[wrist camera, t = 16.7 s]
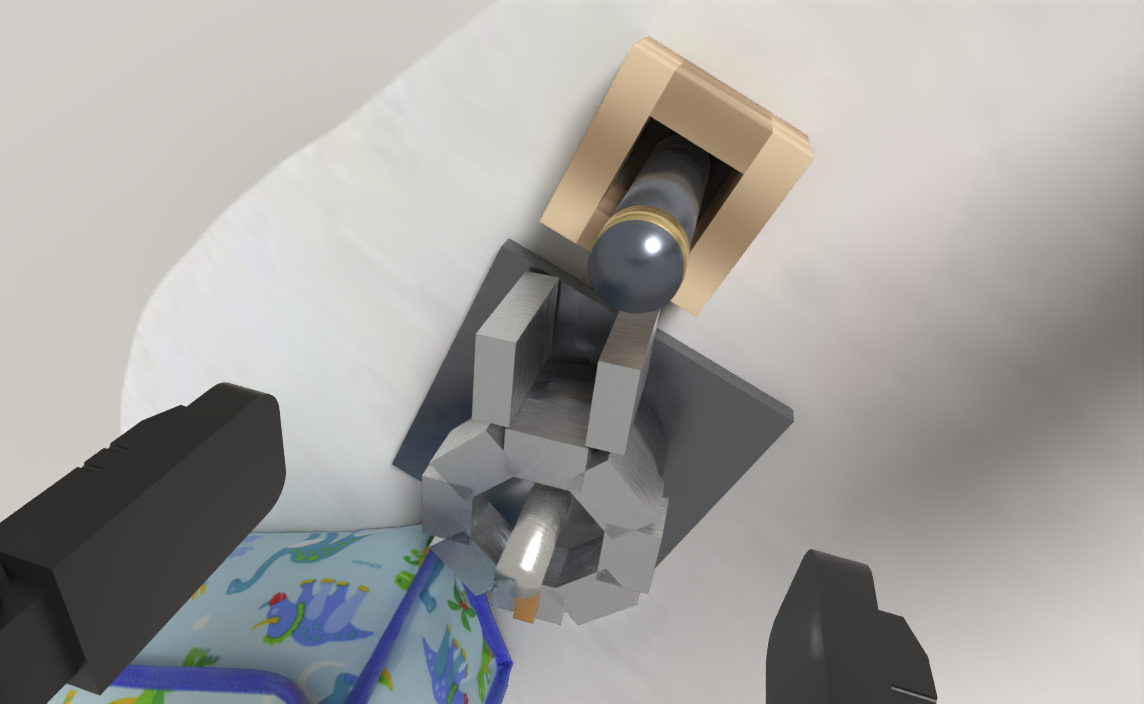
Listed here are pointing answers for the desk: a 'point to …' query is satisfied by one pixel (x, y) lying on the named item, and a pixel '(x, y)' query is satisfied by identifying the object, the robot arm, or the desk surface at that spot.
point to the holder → (708, 119)
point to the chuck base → (660, 430)
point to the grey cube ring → (550, 463)
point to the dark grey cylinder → (651, 230)
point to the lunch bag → (322, 629)
